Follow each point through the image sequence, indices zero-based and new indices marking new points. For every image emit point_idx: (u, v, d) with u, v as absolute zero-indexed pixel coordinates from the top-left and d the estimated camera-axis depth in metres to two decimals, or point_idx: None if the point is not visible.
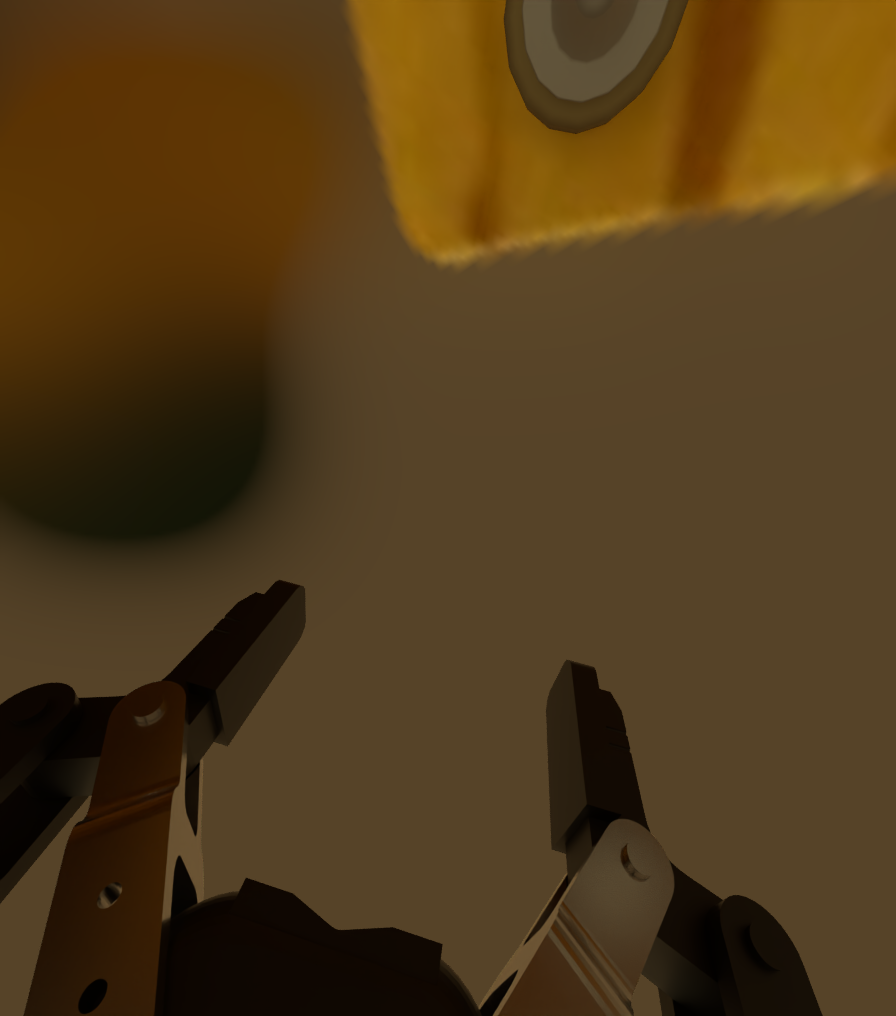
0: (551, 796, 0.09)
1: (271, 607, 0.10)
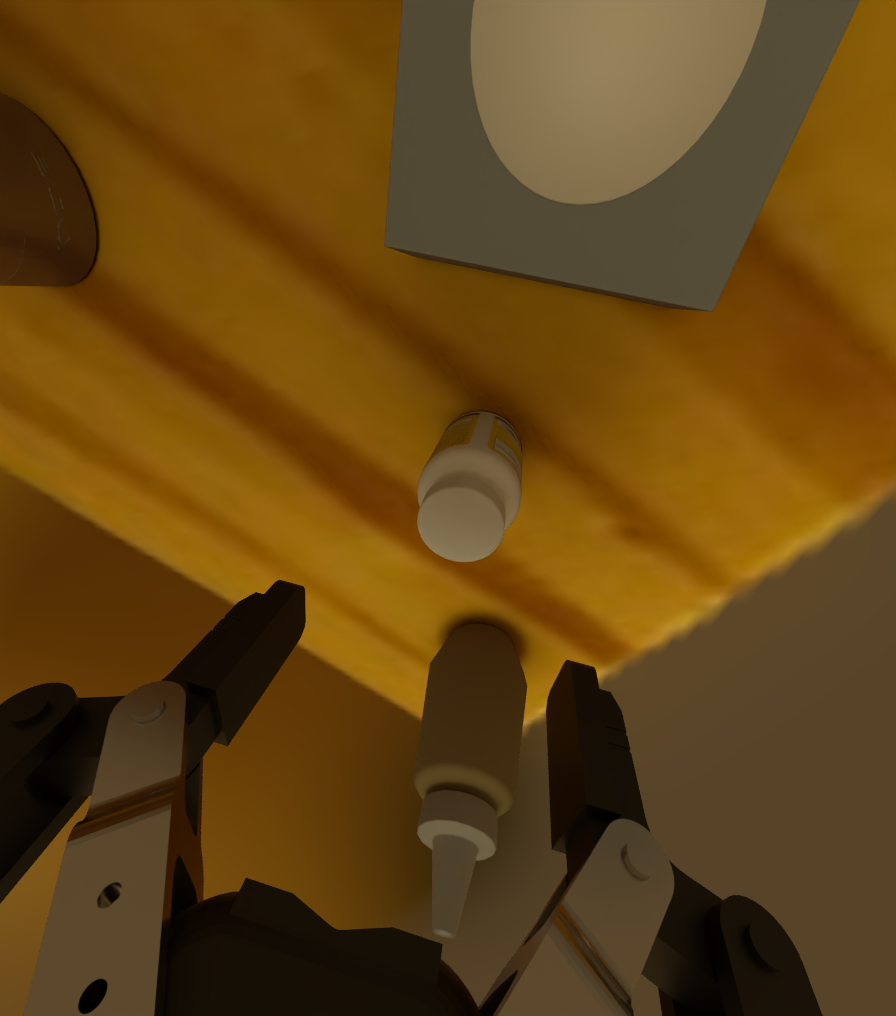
0: (551, 796, 0.09)
1: (271, 607, 0.10)
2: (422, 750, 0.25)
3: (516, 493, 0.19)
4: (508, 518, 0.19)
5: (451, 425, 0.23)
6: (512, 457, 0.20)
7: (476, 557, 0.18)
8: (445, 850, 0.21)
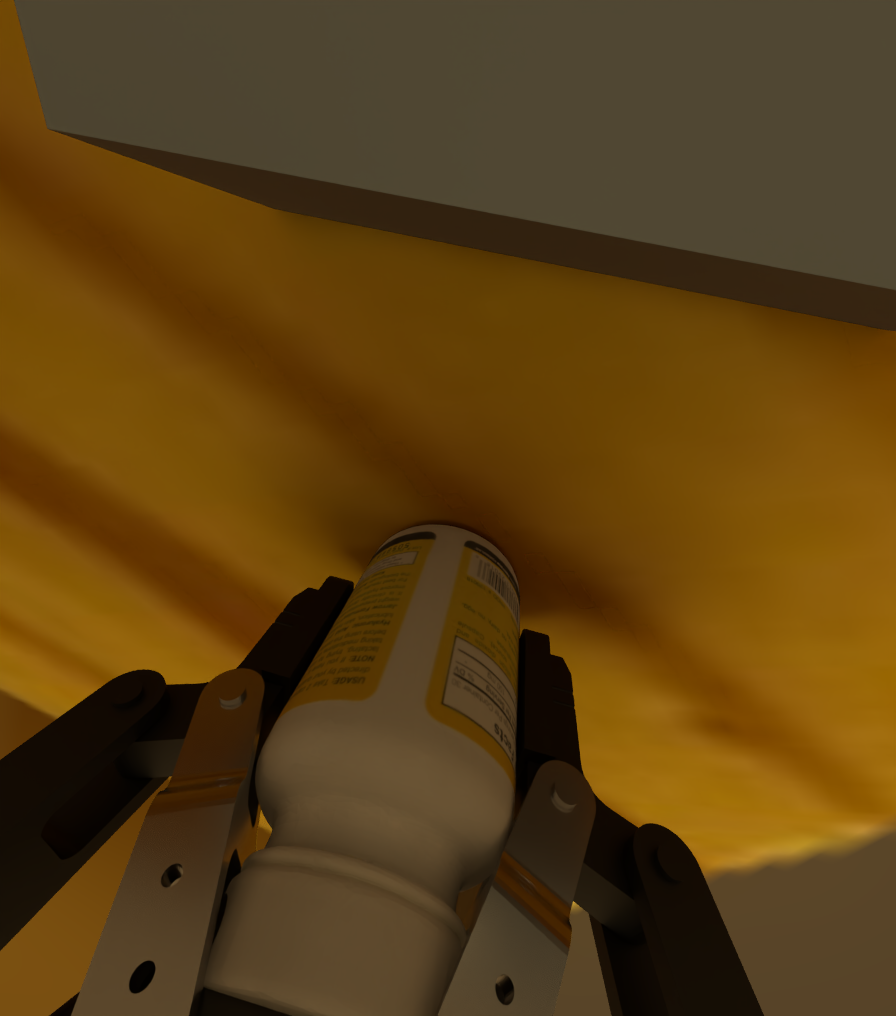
0: None
1: (327, 601, 0.11)
2: None
3: (501, 839, 0.07)
4: (480, 881, 0.07)
5: (377, 559, 0.12)
6: (494, 695, 0.08)
7: None
8: None
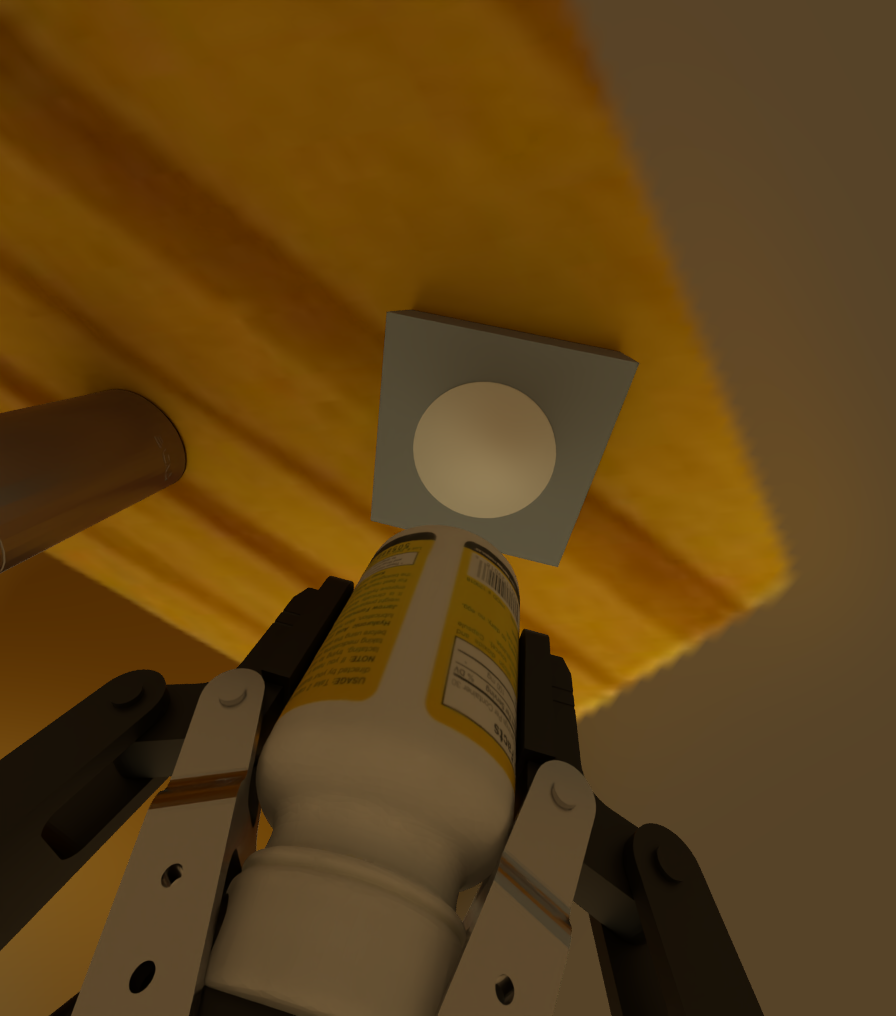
0: None
1: (327, 601, 0.11)
2: None
3: (500, 838, 0.07)
4: (480, 881, 0.07)
5: (378, 559, 0.12)
6: (494, 695, 0.08)
7: None
8: None
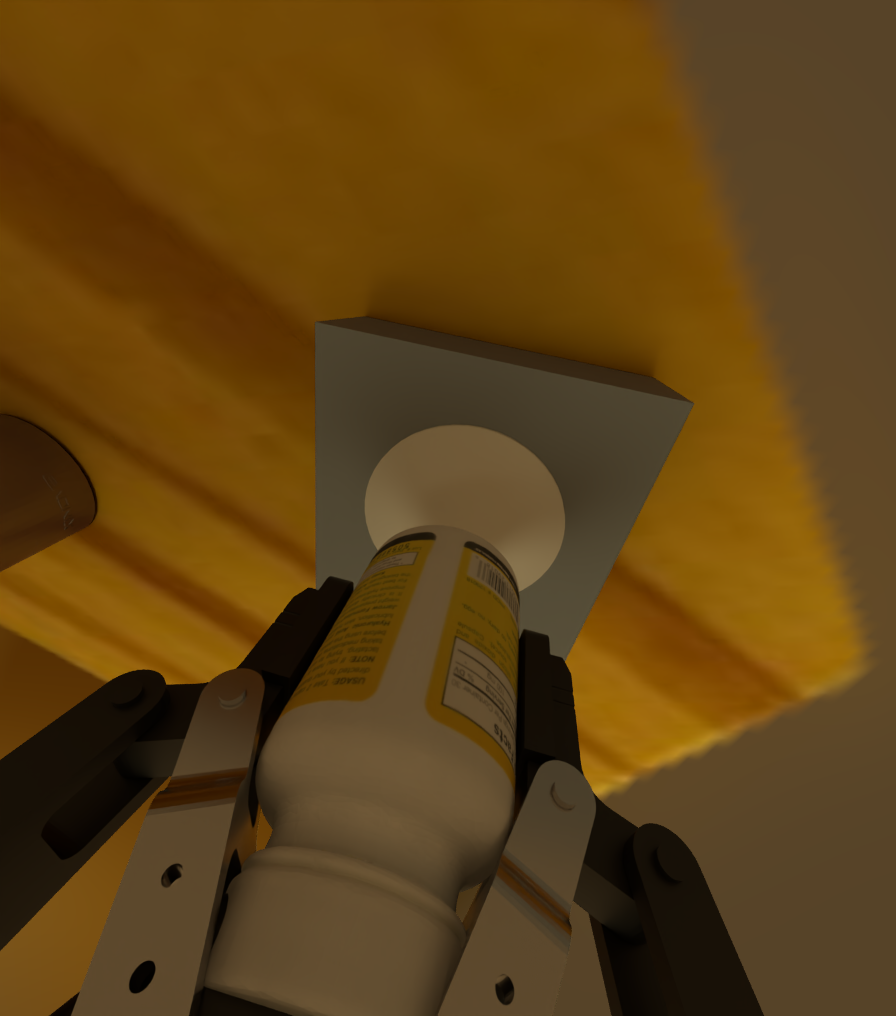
0: None
1: (327, 601, 0.11)
2: None
3: (500, 839, 0.07)
4: (480, 881, 0.07)
5: (377, 559, 0.12)
6: (494, 696, 0.08)
7: None
8: None
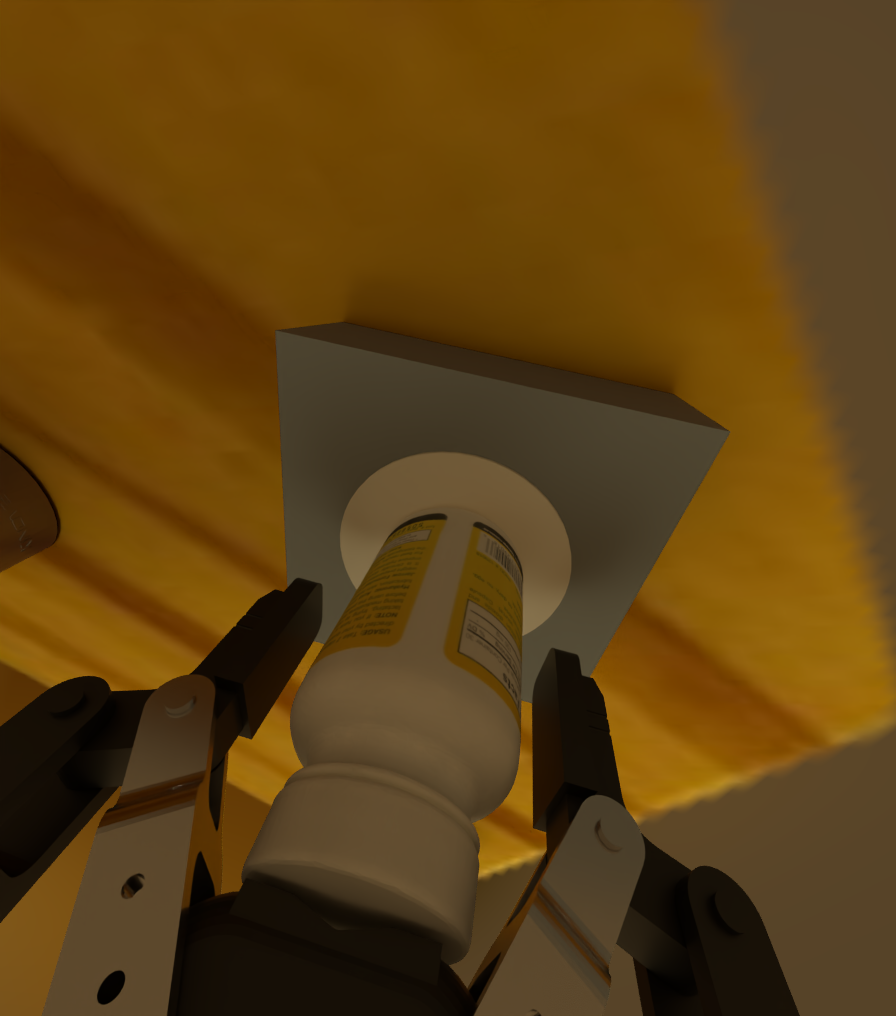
0: (534, 778, 0.10)
1: (292, 604, 0.10)
2: None
3: (509, 768, 0.08)
4: (489, 810, 0.08)
5: (393, 537, 0.13)
6: (502, 651, 0.09)
7: None
8: None
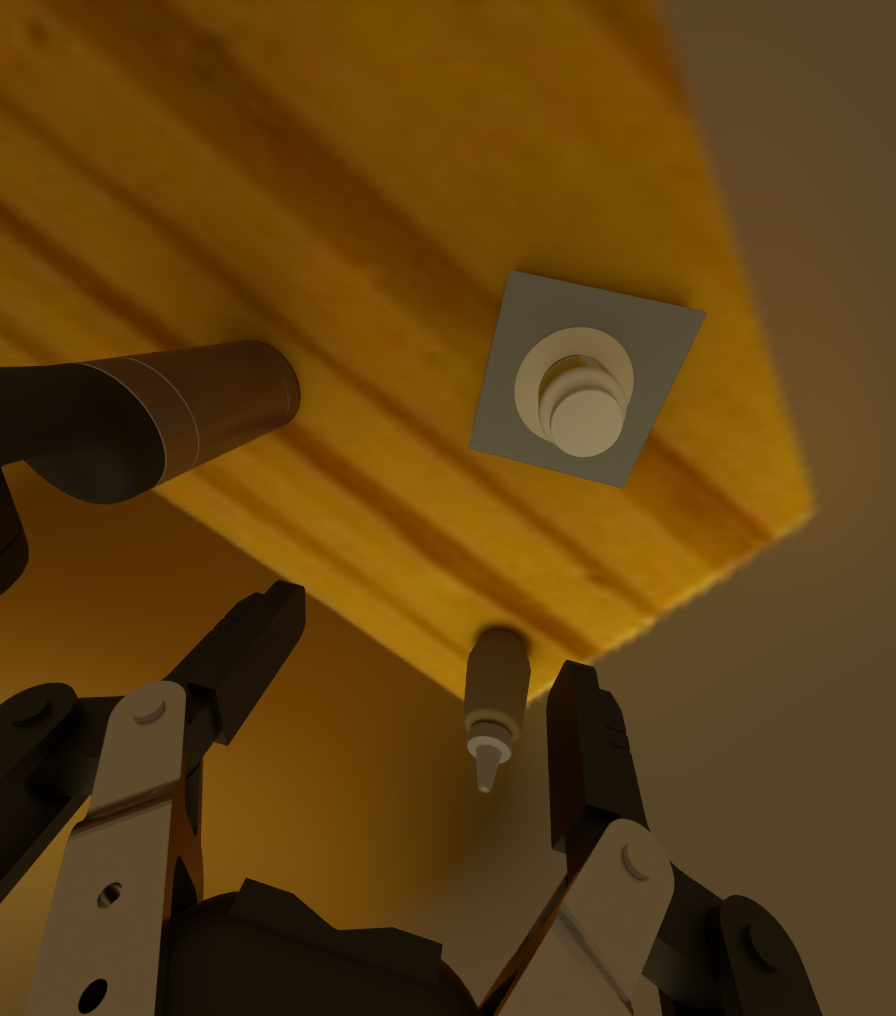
0: (551, 796, 0.09)
1: (271, 607, 0.10)
2: (468, 702, 0.43)
3: (625, 406, 0.23)
4: None
5: (556, 363, 0.28)
6: None
7: (595, 452, 0.23)
8: (484, 751, 0.39)
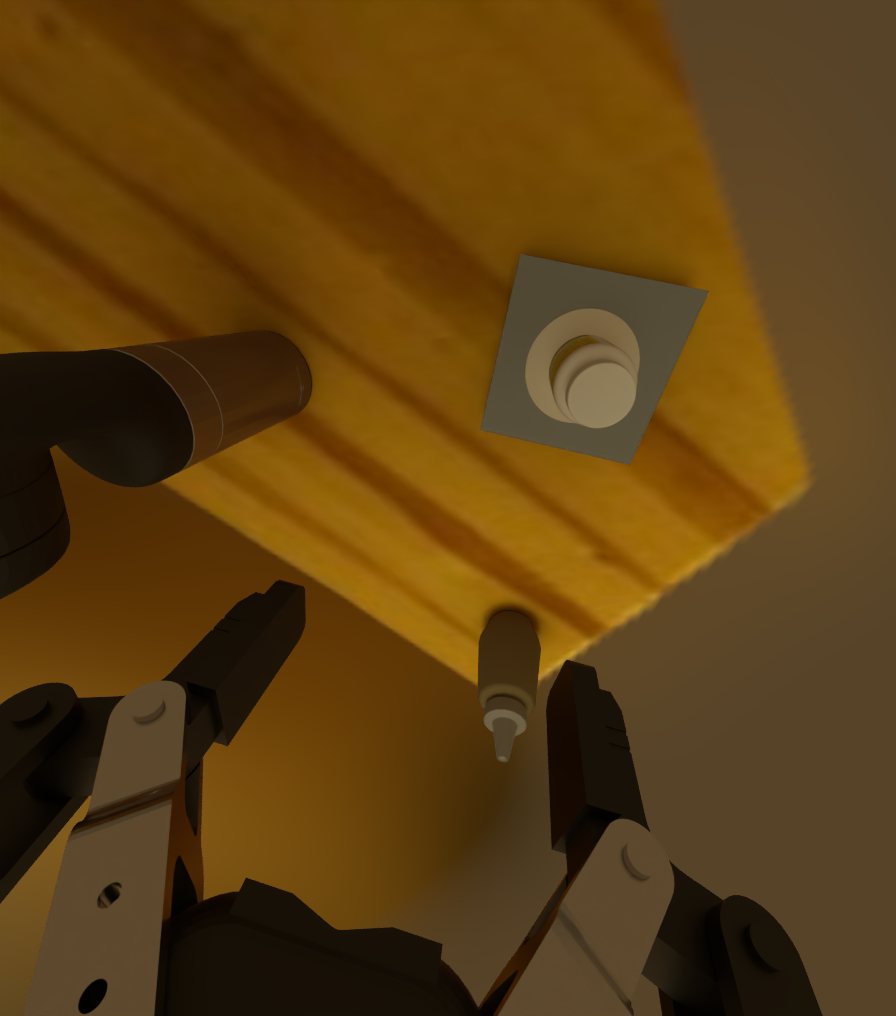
0: (551, 796, 0.09)
1: (271, 607, 0.10)
2: (482, 679, 0.44)
3: (636, 380, 0.25)
4: None
5: (566, 343, 0.29)
6: None
7: (609, 423, 0.24)
8: (501, 724, 0.40)
